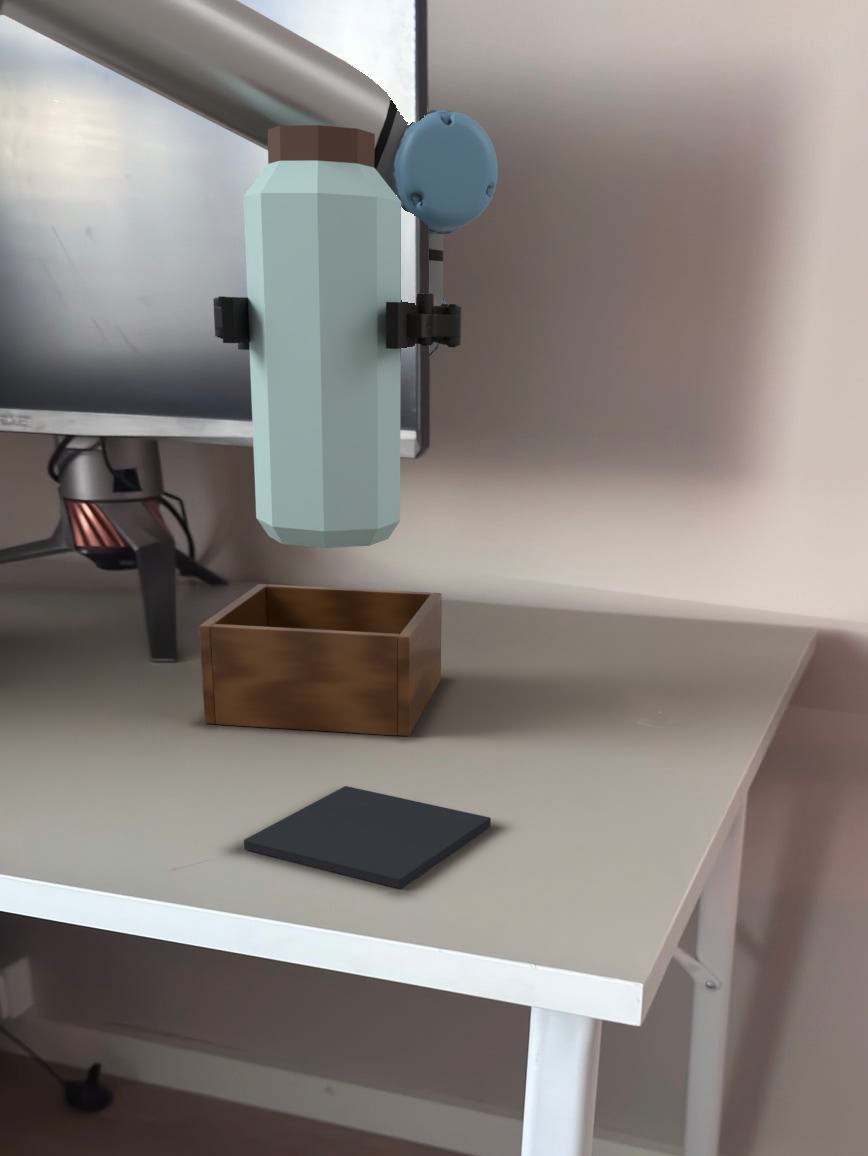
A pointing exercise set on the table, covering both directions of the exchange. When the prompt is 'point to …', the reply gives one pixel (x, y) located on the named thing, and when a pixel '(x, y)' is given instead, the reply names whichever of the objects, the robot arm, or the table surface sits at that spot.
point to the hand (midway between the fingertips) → (309, 322)
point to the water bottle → (323, 339)
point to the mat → (369, 836)
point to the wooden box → (322, 659)
